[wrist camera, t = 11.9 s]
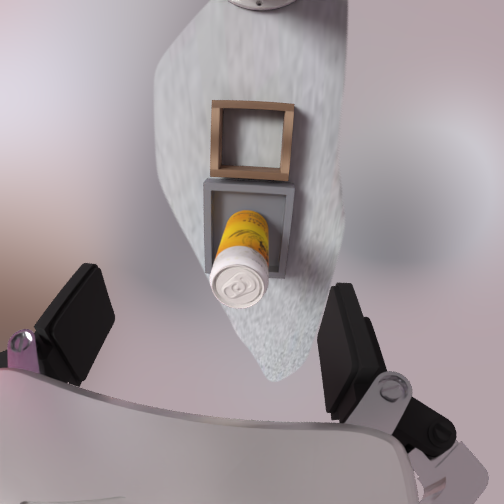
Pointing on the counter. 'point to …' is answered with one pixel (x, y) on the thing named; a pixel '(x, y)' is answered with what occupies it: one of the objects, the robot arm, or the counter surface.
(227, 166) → the collar
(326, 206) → the counter surface
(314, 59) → the counter surface
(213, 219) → the tray
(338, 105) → the counter surface
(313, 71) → the counter surface
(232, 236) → the beer can
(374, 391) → the robot arm
